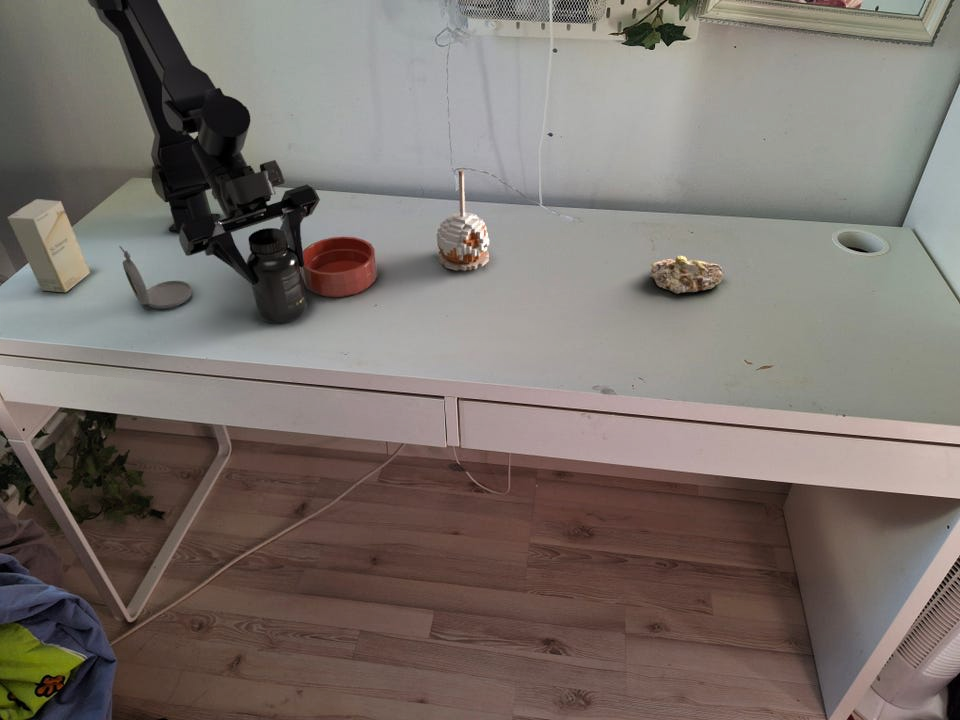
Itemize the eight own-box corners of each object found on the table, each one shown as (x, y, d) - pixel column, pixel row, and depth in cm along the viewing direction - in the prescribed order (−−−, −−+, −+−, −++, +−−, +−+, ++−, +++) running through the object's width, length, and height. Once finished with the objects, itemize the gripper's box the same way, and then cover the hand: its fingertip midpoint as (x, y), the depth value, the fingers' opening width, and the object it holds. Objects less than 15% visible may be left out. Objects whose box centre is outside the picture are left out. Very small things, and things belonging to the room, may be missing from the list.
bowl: (319, 257, 114) (315, 234, 111) (385, 263, 112) (383, 239, 110) (293, 295, 105) (288, 271, 103) (365, 301, 104) (362, 277, 101)
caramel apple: (473, 278, 108) (471, 186, 99) (429, 265, 111) (423, 175, 102) (497, 255, 114) (497, 165, 104) (455, 244, 117) (451, 155, 107)
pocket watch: (202, 290, 107) (183, 230, 100) (165, 321, 100) (143, 259, 94) (157, 281, 109) (136, 222, 103) (118, 311, 103) (94, 250, 96)
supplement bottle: (304, 293, 106) (289, 220, 98) (310, 319, 100) (295, 243, 93) (256, 302, 104) (238, 228, 96) (261, 328, 99) (241, 252, 91)
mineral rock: (655, 283, 102) (651, 243, 107) (649, 302, 106) (646, 263, 110) (731, 287, 102) (724, 246, 106) (722, 307, 105) (716, 267, 110)
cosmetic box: (66, 294, 106) (33, 220, 99) (39, 291, 107) (5, 217, 100) (92, 272, 111) (62, 200, 104) (66, 269, 112) (35, 197, 104)
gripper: (161, 164, 86) (219, 280, 86) (301, 126, 95) (354, 232, 95) (158, 201, 95) (210, 306, 95) (285, 164, 104) (333, 260, 104)
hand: (278, 275), depth 97 cm, fingers closed on supplement bottle, 7 cm apart
